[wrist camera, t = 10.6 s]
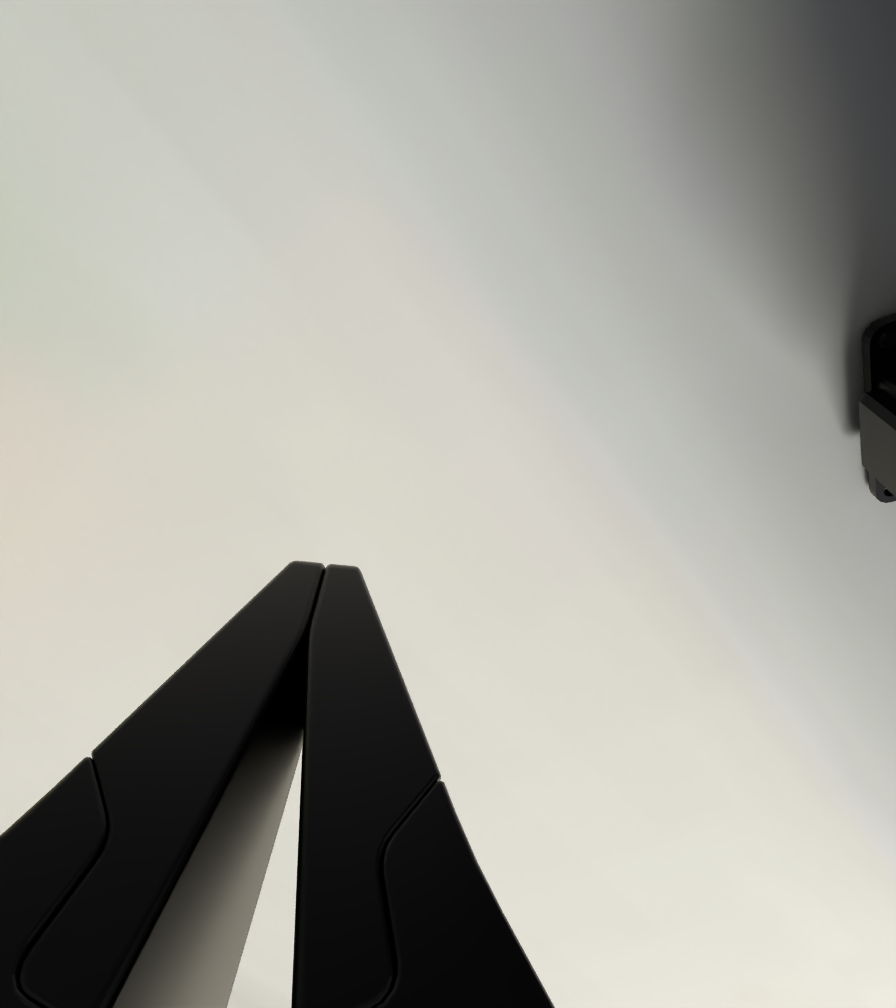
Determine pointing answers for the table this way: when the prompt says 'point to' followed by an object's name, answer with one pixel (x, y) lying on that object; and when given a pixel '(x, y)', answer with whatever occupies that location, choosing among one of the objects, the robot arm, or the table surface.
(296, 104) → the table surface
